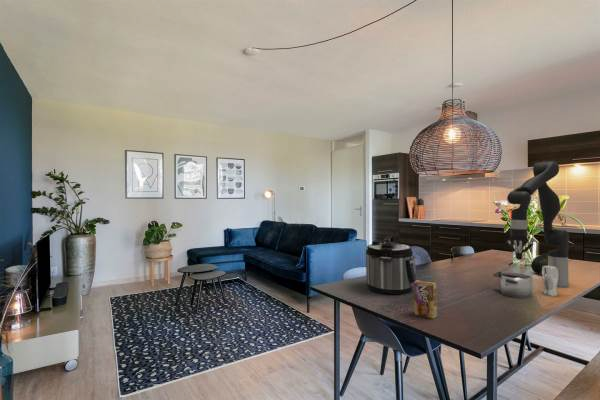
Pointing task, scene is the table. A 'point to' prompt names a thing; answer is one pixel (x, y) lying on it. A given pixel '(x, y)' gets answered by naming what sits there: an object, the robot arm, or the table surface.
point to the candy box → (425, 299)
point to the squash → (539, 263)
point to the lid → (511, 265)
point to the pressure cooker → (390, 267)
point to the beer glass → (550, 280)
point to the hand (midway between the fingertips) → (518, 259)
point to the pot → (515, 284)
